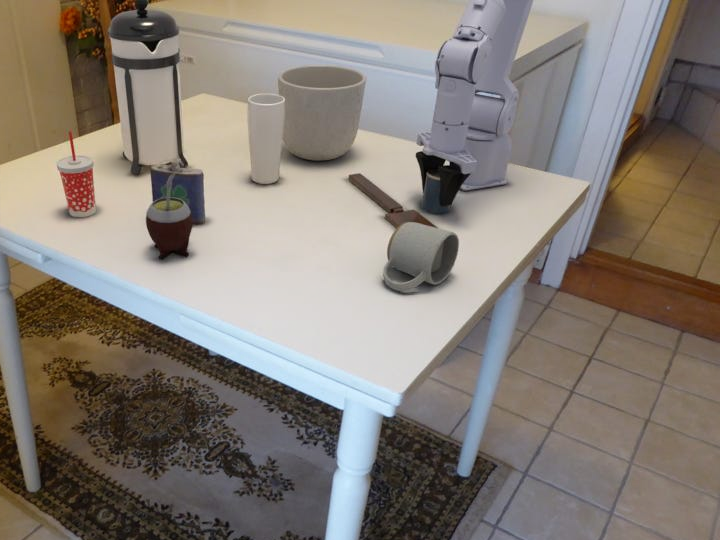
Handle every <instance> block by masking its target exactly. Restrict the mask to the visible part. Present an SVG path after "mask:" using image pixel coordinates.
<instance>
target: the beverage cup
mask: <svg viewBox="0 0 720 540" xmlns="http://www.w3.org/2000/svg"><path fill="white" fill-rule="evenodd" d="M68 137H69V143H70V151H71V155H67V156H63V157H61V158H60V159H57V161H56V162H55V163H56V168H57V171H59V175H60V179H61V183H62V187H63V191H64V197H65V199H66V204H67V208H68V211H69V215H70V216H72V217H73V218H74V217H75V218H87V217H90V216H93V215H94V214H95V213H96V212H97V206H96V197H95V196H96V195H95V181H94V170H93V167H94V159H93V158H92V157H91V156H88V155H85V154H84V155H83V154H76V150H75V145H74V140H73V133H72V130H70V131H68Z"/></svg>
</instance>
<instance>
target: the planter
mask: <svg viewBox="0 0 720 540" xmlns="http://www.w3.org/2000/svg"><path fill="white" fill-rule="evenodd" d="M277 81H278V85H277V86H278V87H277V88H278V95H280V96H282V97H284V98H285V125H284V134H283V142H282V143H283V144H284V145H285V147H286V148H287V150H288V151H289V152H290V153H292V155H294V156H295V157H298V158H300V159H303V160H308V161H314V162H315V161H316V162H317V161H319V162H320V161H330V160H334V159H337V158H340V157H341V156H343V155H345V154H346V153H347V152H348V151H349V150H350V149H351V147H352V146H353V144H354V143H355V140H356V138H357V135H358V132H359V131H358V130H359V124H360V119H361V115H362V114H361V113H362V107H363V101H364V96H365V89H366V84H367V76H366V74H364V73H363V72H362V71H359V70H357V69H354V68H352V67H351V68H350V67H346V66H340V65H333V64H332V65H329V64H310V65H309V64H308V65H299V66H294V67H290V68H287V69H285V70H283V71H281V72H279V74H278V75H277Z"/></svg>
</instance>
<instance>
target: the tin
mask: <svg viewBox="0 0 720 540" xmlns="http://www.w3.org/2000/svg"><path fill="white" fill-rule="evenodd" d="M439 197H440V175H439V171H438V167H432V168H430V169H428V170H427V176H426V182H425V188H424V193H423V195H422V201H421V209H422V210H423V211H424V212H426V213H430V214H436V215H441V214H447V213H449V211H450V210H451V205H448V206H440V204H439Z"/></svg>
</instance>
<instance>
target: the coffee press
mask: <svg viewBox="0 0 720 540" xmlns="http://www.w3.org/2000/svg"><path fill="white" fill-rule="evenodd" d="M134 5H135V7H136V8H137V9H133V10H127V11H123V12H120V13H118V14H116V15H115V16H114V17H113V18H112V19H111V21H110V24H109V28H107V36H108V38H109V39H110V45H111V51H110V55H111V64H112V66H113V71H114V79H115V88H116V90H115V91H116V98H117V105H118V115H119V124H120V132H121V141H122V149H123V151H122V157H123V158H125V159H128V160H129V161H130V162H132V163H131V166H130V174H132V175H136V176H140V174H141V172H142V170H143V167H144V166H154V165H160V164H161V163H163V165H164V164H165V165H167V164H169V163H171V162H170V160H171V159H176V158H179V159H181V161H180V162H179V164H180V168H189V162H188V161H187V159H186V157H185V155H184V152H185V142H184V141H185V139H184V138H185V137H184V123H183V122H184V121H183V104H182V103H183V102H182V89H181V87H182V86H181V70H180V61H181V49H180V48H179V35H180V26H179V25H177V21H176V19H175V18H174V16H172V15H171V14H169V13H168V12H165V11H162V10H157V9H147V7H148V5H149V1H148V0H134Z"/></svg>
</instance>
